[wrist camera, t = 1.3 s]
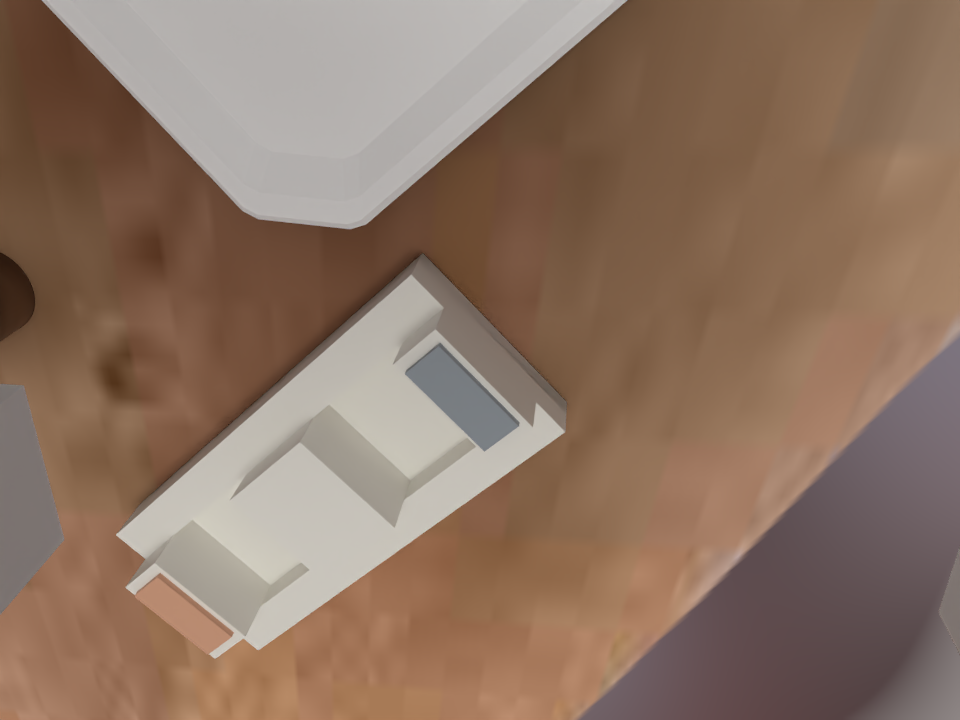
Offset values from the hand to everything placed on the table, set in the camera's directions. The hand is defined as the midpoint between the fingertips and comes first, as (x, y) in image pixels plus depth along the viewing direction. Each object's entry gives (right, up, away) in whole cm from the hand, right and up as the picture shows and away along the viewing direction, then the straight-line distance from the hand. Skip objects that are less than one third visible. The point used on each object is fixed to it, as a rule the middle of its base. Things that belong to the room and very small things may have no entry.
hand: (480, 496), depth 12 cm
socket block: (-7, -3, +28) cm, 29 cm away
